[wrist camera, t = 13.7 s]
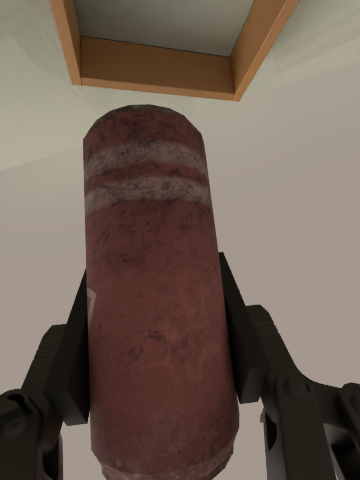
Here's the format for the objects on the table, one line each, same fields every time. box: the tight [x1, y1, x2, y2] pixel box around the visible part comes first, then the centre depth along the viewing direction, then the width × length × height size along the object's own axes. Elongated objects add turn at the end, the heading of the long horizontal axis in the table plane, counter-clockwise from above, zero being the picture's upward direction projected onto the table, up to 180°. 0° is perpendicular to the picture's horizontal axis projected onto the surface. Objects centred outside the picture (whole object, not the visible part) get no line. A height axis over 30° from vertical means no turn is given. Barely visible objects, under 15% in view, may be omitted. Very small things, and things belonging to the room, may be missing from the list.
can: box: [83, 104, 239, 480], centre depth 11 cm, size 6×6×14 cm
